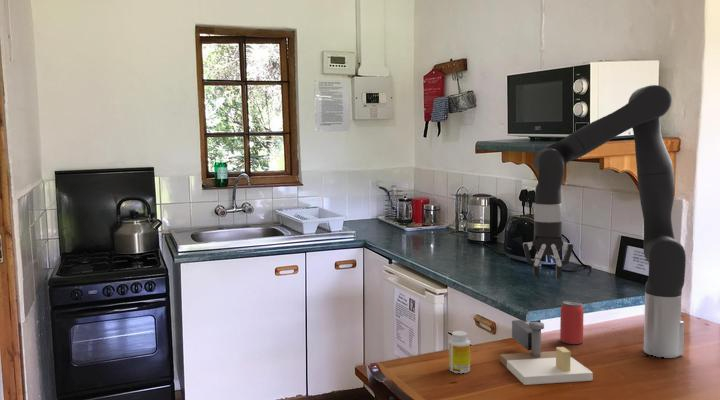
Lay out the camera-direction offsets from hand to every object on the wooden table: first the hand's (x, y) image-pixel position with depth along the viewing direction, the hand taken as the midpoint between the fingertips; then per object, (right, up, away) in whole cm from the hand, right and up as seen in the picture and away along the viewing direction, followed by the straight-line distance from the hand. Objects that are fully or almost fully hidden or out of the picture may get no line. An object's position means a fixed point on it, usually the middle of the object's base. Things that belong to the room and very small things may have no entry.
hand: (547, 278), depth 175 cm
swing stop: (-6, -19, 0) cm, 20 cm away
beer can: (+11, -21, +10) cm, 25 cm away
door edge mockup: (-5, -23, -13) cm, 27 cm away
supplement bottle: (-27, -23, -12) cm, 38 cm away
